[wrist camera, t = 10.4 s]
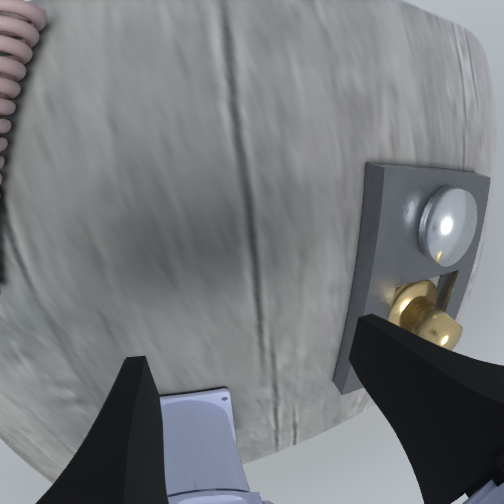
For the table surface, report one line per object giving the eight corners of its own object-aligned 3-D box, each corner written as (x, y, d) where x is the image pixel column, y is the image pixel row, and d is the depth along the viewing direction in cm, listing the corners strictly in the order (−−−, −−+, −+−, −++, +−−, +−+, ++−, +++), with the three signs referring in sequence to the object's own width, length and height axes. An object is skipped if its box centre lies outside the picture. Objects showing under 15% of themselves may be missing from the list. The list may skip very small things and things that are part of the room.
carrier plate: (431, 342, 29) (449, 359, 26) (332, 381, 26) (348, 406, 23) (474, 172, 21) (502, 181, 18) (365, 162, 18) (400, 171, 15)
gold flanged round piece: (420, 324, 27) (457, 358, 21) (373, 342, 25) (410, 384, 20) (435, 269, 24) (481, 300, 18) (386, 282, 23) (435, 323, 17)
